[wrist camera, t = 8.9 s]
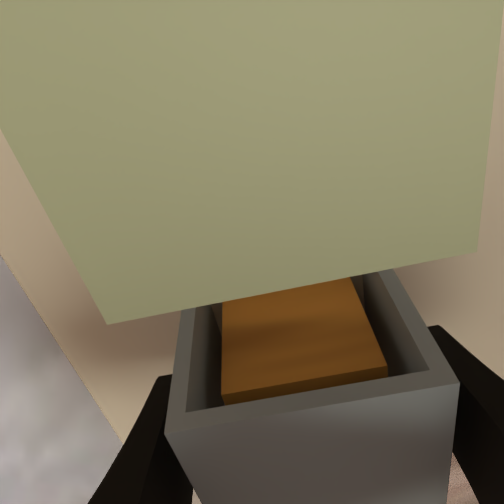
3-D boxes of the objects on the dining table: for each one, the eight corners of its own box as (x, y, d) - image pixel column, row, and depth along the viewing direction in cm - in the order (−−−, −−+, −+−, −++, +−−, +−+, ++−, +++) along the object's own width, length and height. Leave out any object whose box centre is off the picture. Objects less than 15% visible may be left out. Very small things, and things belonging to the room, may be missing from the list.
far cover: (379, 368, 16) (443, 528, 11) (230, 394, 16) (232, 559, 11) (373, 235, 12) (459, 383, 8) (186, 271, 13) (164, 433, 8)
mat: (503, 371, 17) (509, 379, 16) (125, 436, 18) (123, 444, 17) (640, -329, 7) (661, -345, 7) (-209, -95, 8) (-228, -98, 8)
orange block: (354, 354, 15) (390, 458, 12) (247, 373, 15) (253, 481, 12) (346, 267, 13) (387, 365, 10) (222, 291, 13) (221, 394, 10)
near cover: (369, 138, 11) (477, 252, 6) (156, 185, 11) (107, 324, 7) (353, -178, 8) (552, -438, 3) (53, -97, 8) (-187, -214, 3)
